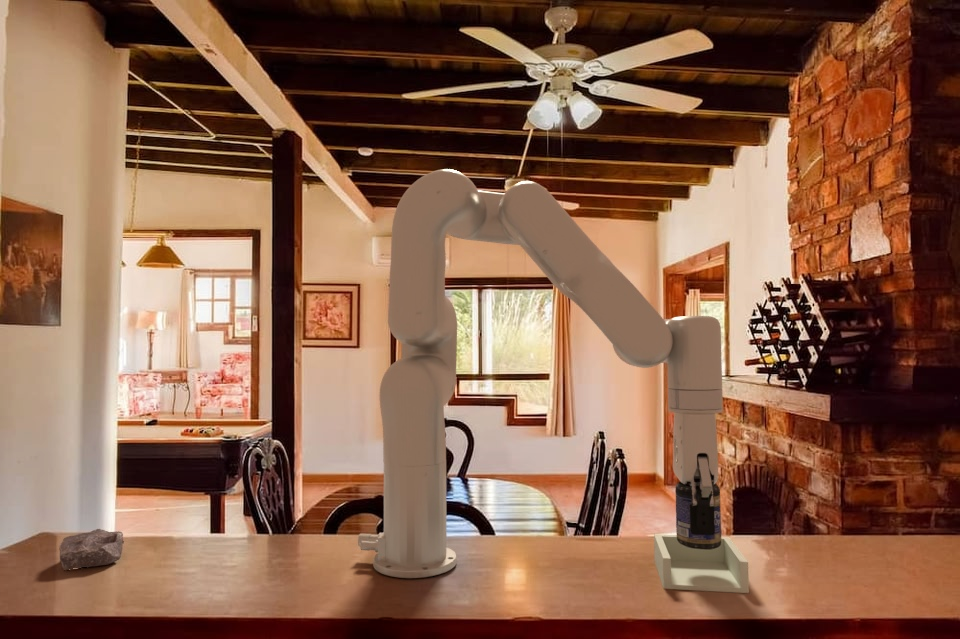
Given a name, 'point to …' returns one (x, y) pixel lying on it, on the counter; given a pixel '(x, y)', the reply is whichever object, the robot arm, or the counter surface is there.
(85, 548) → the rock
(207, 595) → the counter surface
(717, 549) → the holder
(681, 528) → the pill bottle
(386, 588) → the counter surface
